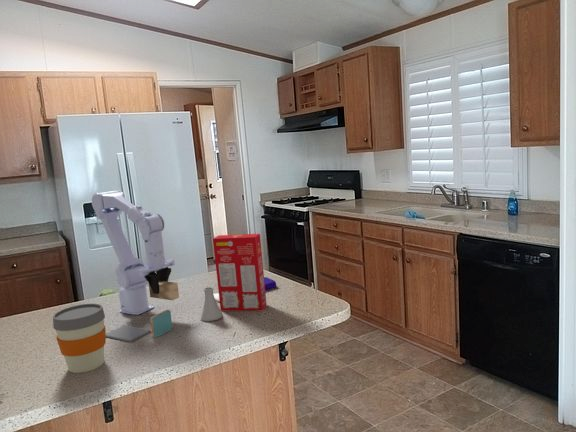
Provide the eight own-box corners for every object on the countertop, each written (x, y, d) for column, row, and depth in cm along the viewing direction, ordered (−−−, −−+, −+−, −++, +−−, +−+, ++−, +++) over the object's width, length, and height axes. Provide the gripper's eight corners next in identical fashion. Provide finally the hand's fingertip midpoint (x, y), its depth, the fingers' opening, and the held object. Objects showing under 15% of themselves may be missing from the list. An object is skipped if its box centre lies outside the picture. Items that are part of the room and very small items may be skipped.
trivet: (103, 336, 144) (103, 334, 144) (124, 326, 151) (124, 325, 151) (130, 342, 138) (130, 340, 138) (151, 331, 145) (150, 330, 145)
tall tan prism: (150, 297, 156) (148, 282, 155) (156, 294, 159) (155, 280, 158) (172, 300, 151) (171, 285, 151) (179, 297, 154) (177, 282, 153)
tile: (152, 336, 141) (149, 317, 140) (169, 327, 147) (166, 309, 146) (156, 337, 140) (153, 318, 139) (172, 328, 146) (170, 310, 145)
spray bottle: (264, 275, 187) (207, 290, 175) (278, 281, 178) (218, 297, 166) (265, 283, 188) (208, 298, 176) (279, 289, 178) (219, 305, 166)
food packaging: (266, 305, 160) (259, 233, 157) (262, 310, 155) (255, 236, 152) (225, 305, 164) (218, 235, 160) (220, 310, 159) (212, 238, 155)
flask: (218, 322, 148) (215, 291, 147) (197, 322, 150) (193, 292, 148) (225, 313, 156) (222, 284, 154) (205, 313, 157) (202, 285, 155)
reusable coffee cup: (116, 364, 124) (109, 310, 121) (65, 381, 117) (56, 324, 114) (104, 350, 134) (97, 300, 132) (56, 364, 127) (48, 312, 125)
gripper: (147, 258, 145) (152, 299, 147) (179, 247, 158) (183, 286, 160) (131, 257, 149) (136, 297, 151) (163, 246, 161) (168, 284, 163)
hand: (160, 291), depth 156 cm, fingers closed on tall tan prism, 3 cm apart
